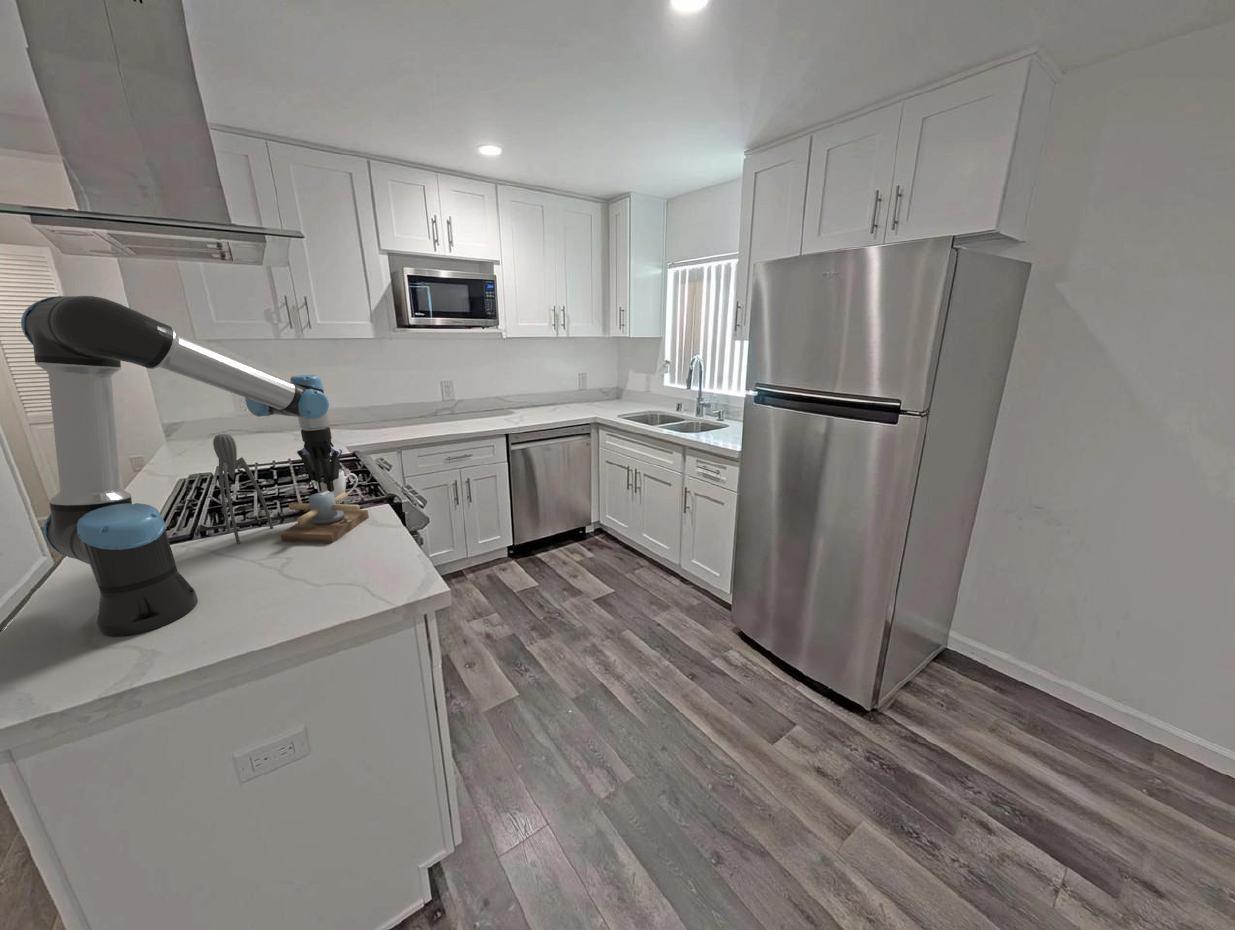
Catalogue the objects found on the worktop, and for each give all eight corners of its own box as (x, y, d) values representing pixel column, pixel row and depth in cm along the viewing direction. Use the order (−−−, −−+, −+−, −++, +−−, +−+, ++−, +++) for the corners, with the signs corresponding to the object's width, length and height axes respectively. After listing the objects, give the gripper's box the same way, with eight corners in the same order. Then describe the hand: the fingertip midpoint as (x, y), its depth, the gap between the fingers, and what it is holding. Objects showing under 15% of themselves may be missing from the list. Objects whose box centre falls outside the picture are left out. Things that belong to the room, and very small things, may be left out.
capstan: (340, 535, 132) (335, 508, 129) (268, 533, 133) (262, 506, 131) (381, 507, 152) (377, 483, 149) (317, 505, 153) (313, 481, 150)
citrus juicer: (238, 544, 133) (211, 439, 124) (209, 541, 135) (180, 437, 126) (274, 527, 144) (251, 430, 135) (246, 524, 146) (222, 428, 137)
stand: (332, 542, 134) (330, 529, 132) (281, 541, 134) (278, 528, 133) (368, 517, 151) (366, 505, 150) (323, 516, 152) (320, 504, 150)
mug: (321, 511, 156) (314, 478, 152) (320, 503, 163) (314, 471, 159) (362, 503, 162) (357, 471, 159) (359, 496, 169) (354, 465, 165)
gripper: (343, 425, 146) (356, 497, 152) (303, 424, 146) (317, 496, 153) (327, 430, 138) (341, 506, 145) (285, 430, 139) (300, 505, 146)
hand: (329, 501), depth 149 cm, fingers closed
